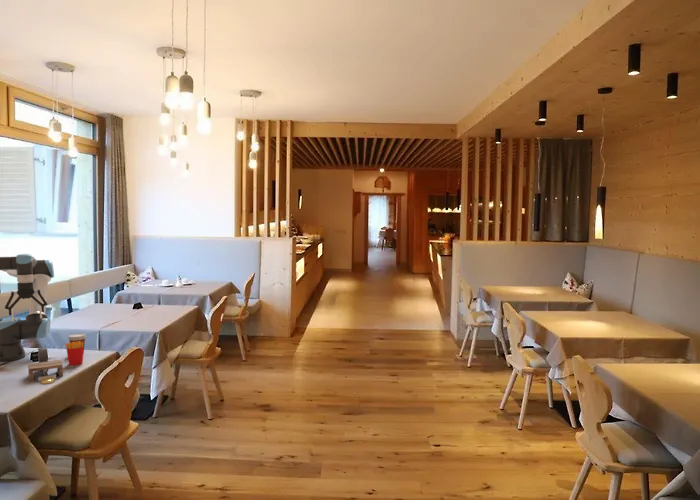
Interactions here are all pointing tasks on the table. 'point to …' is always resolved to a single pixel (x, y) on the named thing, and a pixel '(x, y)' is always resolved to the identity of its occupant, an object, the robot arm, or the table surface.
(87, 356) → the table surface
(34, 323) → the robot arm
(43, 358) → the steel scraper
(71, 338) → the disposable coffee cup
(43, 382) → the brass disc
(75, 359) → the french fries
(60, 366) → the walnut bench
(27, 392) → the table surface
